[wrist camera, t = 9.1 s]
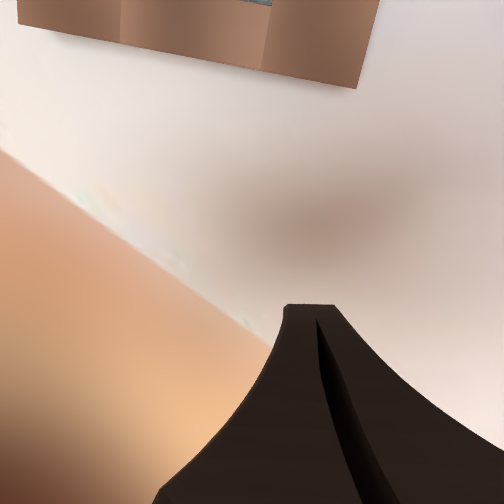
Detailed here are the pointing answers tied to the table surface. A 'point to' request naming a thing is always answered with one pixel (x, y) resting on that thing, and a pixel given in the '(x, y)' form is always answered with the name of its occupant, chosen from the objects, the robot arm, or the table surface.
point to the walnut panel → (226, 31)
